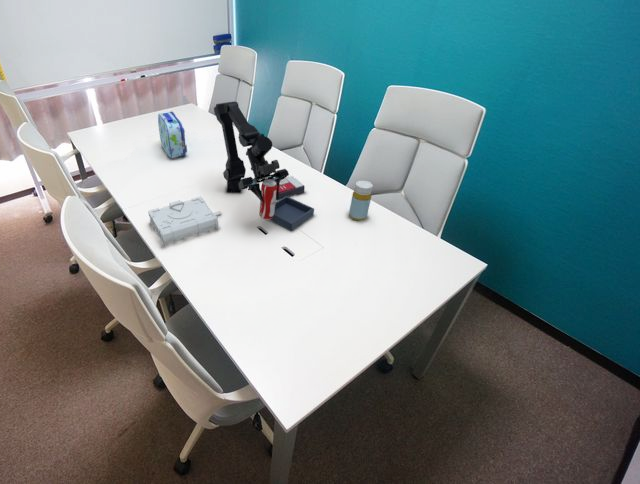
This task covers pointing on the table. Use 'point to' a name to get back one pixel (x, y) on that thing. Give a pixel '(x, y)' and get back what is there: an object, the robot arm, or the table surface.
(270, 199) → the beverage can
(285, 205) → the tray
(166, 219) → the grey case
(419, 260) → the table surface
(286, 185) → the calculator
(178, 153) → the lunch box
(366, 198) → the bottle
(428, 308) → the table surface
